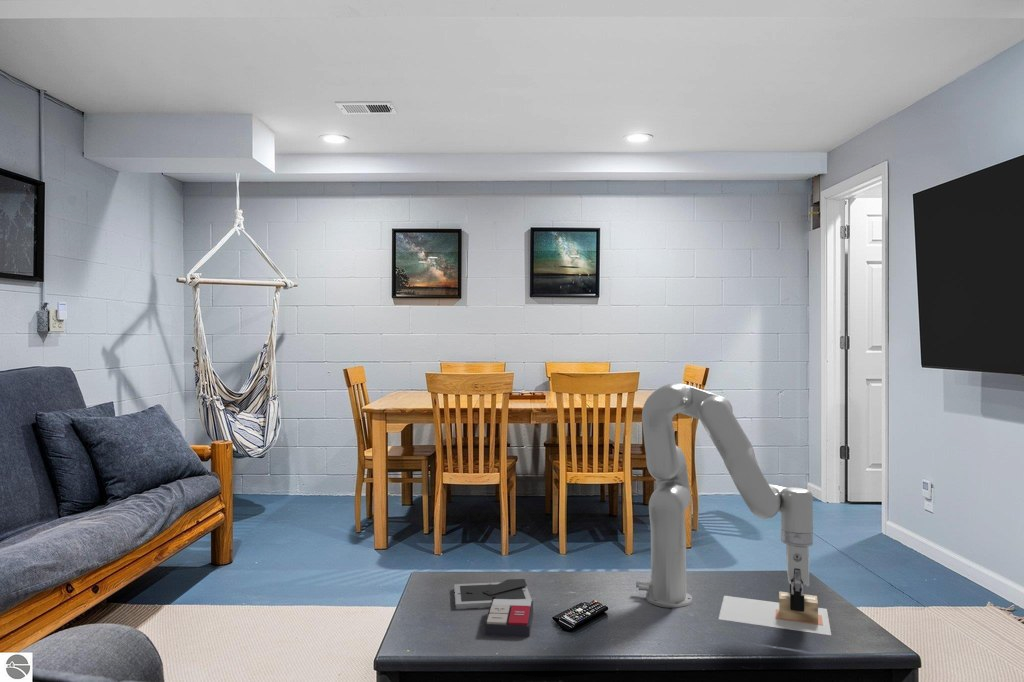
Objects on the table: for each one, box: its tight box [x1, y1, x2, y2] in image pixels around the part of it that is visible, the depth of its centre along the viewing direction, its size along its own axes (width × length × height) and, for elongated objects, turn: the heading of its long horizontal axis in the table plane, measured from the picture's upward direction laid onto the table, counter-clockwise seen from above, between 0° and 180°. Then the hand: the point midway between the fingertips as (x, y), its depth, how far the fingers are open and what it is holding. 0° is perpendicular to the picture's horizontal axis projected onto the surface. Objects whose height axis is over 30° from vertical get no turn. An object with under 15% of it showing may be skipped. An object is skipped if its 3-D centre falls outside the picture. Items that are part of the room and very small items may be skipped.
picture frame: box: [453, 578, 533, 610], centre depth 184 cm, size 16×3×21 cm
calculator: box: [484, 599, 534, 638], centre depth 166 cm, size 11×4×15 cm
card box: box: [778, 591, 819, 623], centre depth 168 cm, size 9×6×5 cm, turn 68°
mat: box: [718, 595, 832, 636], centre depth 170 cm, size 26×18×1 cm
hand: (796, 603), depth 168 cm, fingers open, 9 cm apart
